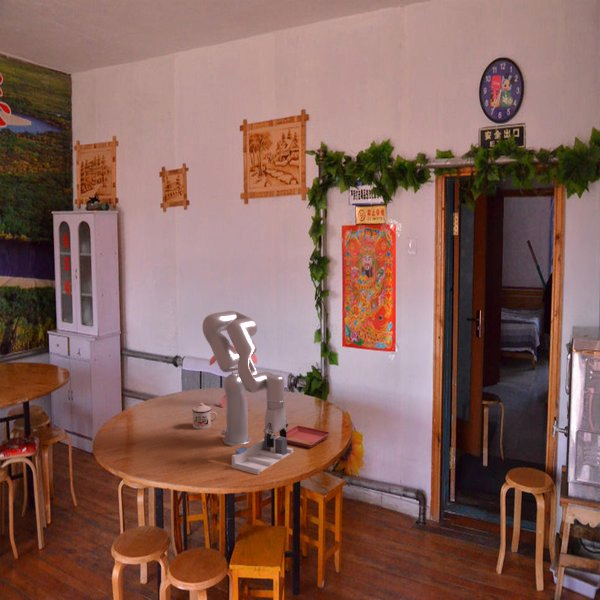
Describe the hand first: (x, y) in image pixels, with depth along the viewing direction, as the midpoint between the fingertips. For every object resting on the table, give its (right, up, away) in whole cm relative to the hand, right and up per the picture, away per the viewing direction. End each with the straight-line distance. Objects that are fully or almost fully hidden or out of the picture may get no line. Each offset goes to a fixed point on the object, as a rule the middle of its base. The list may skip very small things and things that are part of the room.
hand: (276, 443), depth 253 cm
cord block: (-1, -4, +1) cm, 5 cm away
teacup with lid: (-36, -1, +36) cm, 51 cm away
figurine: (-26, +3, +65) cm, 70 cm away
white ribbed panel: (-6, -6, -5) cm, 9 cm away
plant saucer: (+12, -3, +17) cm, 21 cm away
